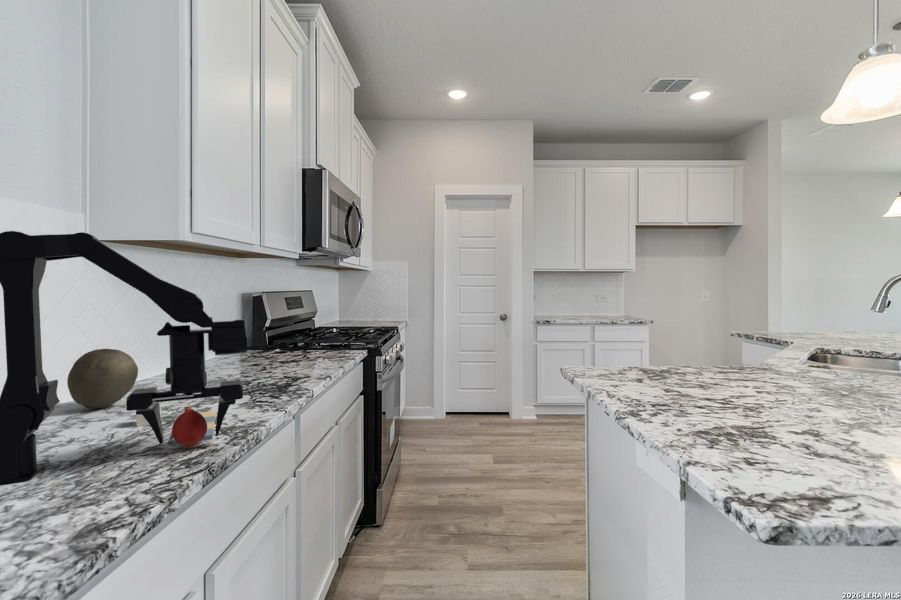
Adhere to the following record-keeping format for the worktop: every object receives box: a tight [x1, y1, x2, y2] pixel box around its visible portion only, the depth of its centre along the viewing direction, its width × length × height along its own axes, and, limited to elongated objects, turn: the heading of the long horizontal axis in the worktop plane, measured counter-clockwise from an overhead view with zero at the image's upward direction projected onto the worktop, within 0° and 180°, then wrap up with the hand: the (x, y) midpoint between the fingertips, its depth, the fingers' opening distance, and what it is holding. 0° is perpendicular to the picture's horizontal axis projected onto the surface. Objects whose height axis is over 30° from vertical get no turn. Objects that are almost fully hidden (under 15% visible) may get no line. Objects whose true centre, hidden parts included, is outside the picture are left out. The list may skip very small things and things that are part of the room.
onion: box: [171, 406, 207, 450], centre depth 86 cm, size 6×6×8 cm
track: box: [171, 410, 217, 445], centre depth 99 cm, size 20×7×1 cm, turn 25°
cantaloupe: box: [66, 348, 139, 410], centre depth 117 cm, size 14×14×15 cm
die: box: [135, 410, 162, 427], centre depth 103 cm, size 4×4×4 cm
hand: (189, 439), depth 86 cm, fingers open, 9 cm apart
